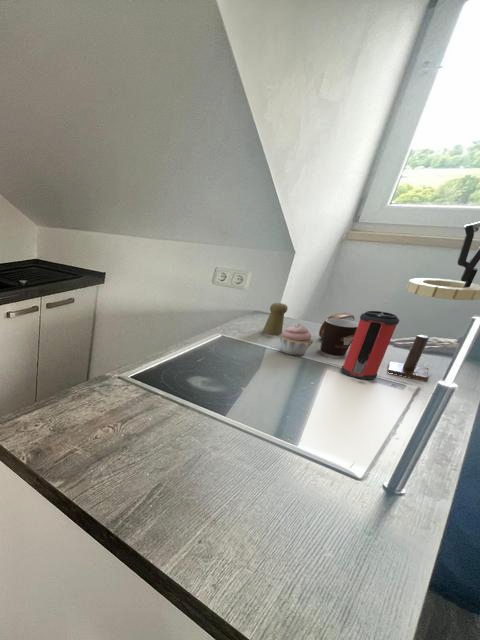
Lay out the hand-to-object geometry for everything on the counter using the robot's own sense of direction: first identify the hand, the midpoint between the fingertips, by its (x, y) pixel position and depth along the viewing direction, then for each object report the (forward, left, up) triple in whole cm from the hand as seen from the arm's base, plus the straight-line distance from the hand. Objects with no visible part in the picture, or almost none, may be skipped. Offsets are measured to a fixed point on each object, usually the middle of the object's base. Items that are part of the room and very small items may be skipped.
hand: (473, 295), depth 98 cm
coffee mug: (+21, -6, -24) cm, 32 cm away
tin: (+24, -22, -24) cm, 40 cm away
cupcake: (+32, +3, -24) cm, 40 cm away
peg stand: (+5, 0, -23) cm, 24 cm away
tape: (+5, 0, 0) cm, 5 cm away
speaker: (+15, +10, -24) cm, 30 cm away
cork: (+41, -14, -24) cm, 50 cm away
